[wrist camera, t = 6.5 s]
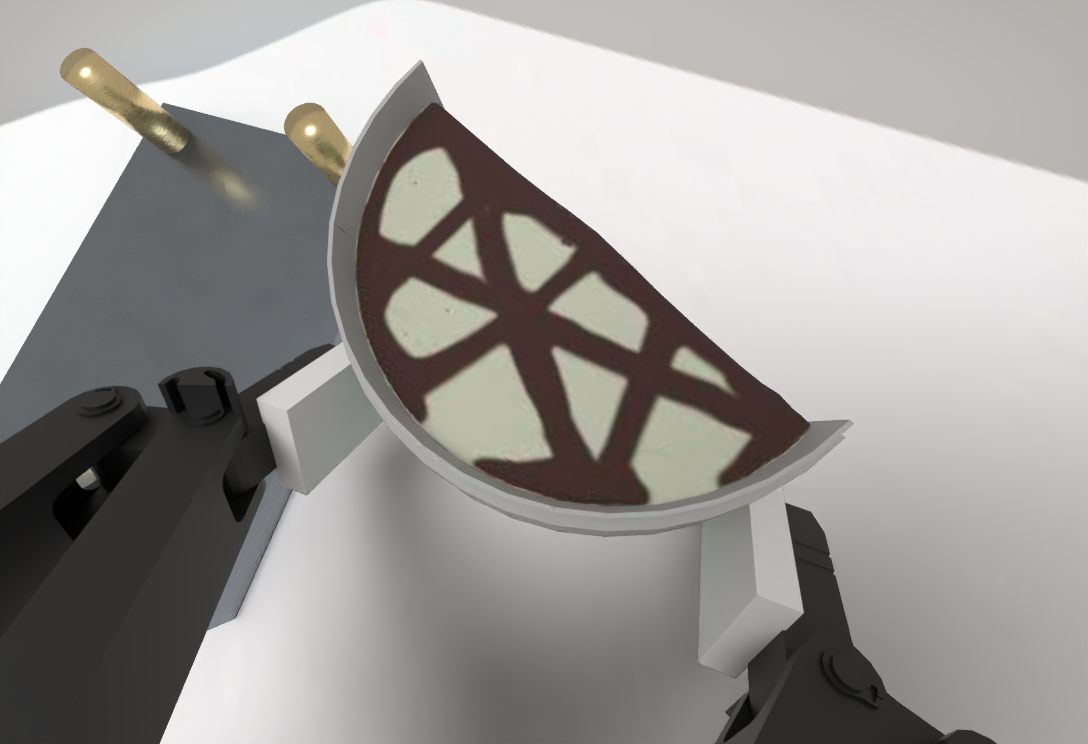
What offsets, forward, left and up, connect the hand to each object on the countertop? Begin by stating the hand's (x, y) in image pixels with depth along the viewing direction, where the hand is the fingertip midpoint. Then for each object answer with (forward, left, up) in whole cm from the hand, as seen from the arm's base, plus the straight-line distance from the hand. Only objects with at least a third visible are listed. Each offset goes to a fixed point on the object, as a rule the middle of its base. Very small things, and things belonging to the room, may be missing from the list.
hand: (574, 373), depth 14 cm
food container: (+1, +1, -4) cm, 4 cm away
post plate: (+17, +3, -4) cm, 18 cm away
